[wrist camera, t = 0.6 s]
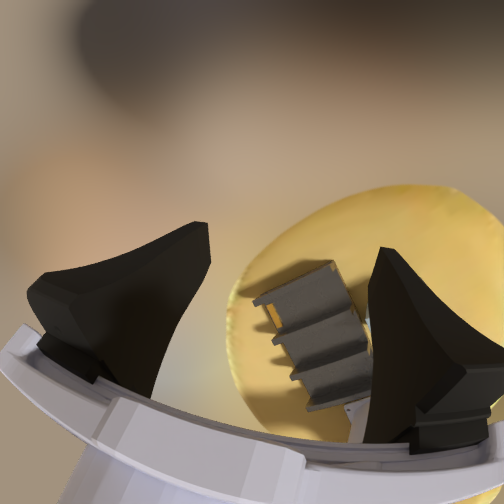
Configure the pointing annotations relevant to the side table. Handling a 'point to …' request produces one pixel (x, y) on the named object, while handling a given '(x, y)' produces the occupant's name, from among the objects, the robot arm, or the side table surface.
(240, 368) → the side table surface
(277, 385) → the side table surface
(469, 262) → the side table surface
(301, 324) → the rack
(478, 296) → the side table surface
